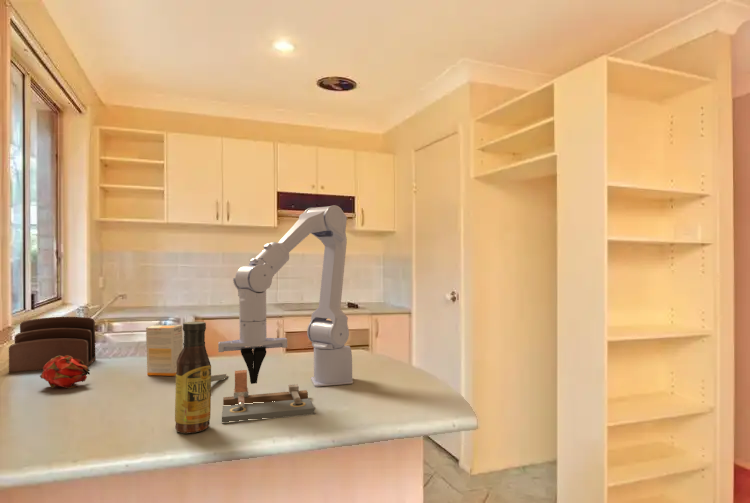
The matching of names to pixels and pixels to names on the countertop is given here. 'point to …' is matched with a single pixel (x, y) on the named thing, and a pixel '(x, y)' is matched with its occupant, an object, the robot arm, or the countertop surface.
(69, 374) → the dragon fruit
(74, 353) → the letter holder
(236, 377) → the orange handled lever
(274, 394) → the rail
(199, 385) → the sauce bottle
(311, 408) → the bolt plate
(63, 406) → the countertop surface
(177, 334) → the supplement box
